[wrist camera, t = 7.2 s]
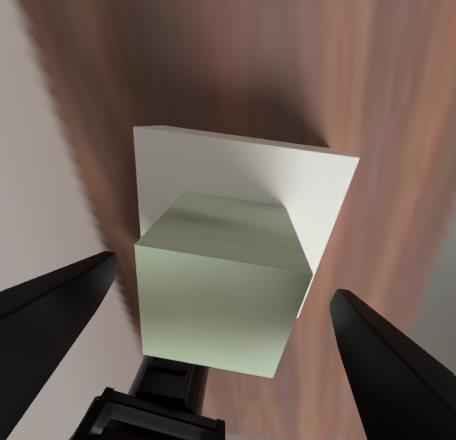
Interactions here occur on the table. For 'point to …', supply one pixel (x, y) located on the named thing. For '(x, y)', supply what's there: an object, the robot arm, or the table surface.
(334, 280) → the table surface
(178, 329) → the green cube
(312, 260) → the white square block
